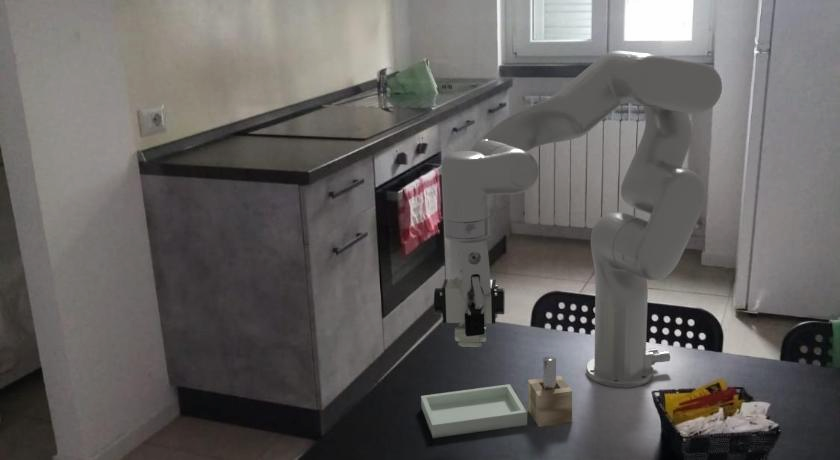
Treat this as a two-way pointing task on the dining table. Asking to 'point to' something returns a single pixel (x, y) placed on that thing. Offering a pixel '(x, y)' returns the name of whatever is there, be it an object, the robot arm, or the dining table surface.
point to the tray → (473, 410)
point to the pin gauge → (549, 373)
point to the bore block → (550, 402)
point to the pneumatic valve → (455, 308)
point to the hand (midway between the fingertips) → (470, 326)
